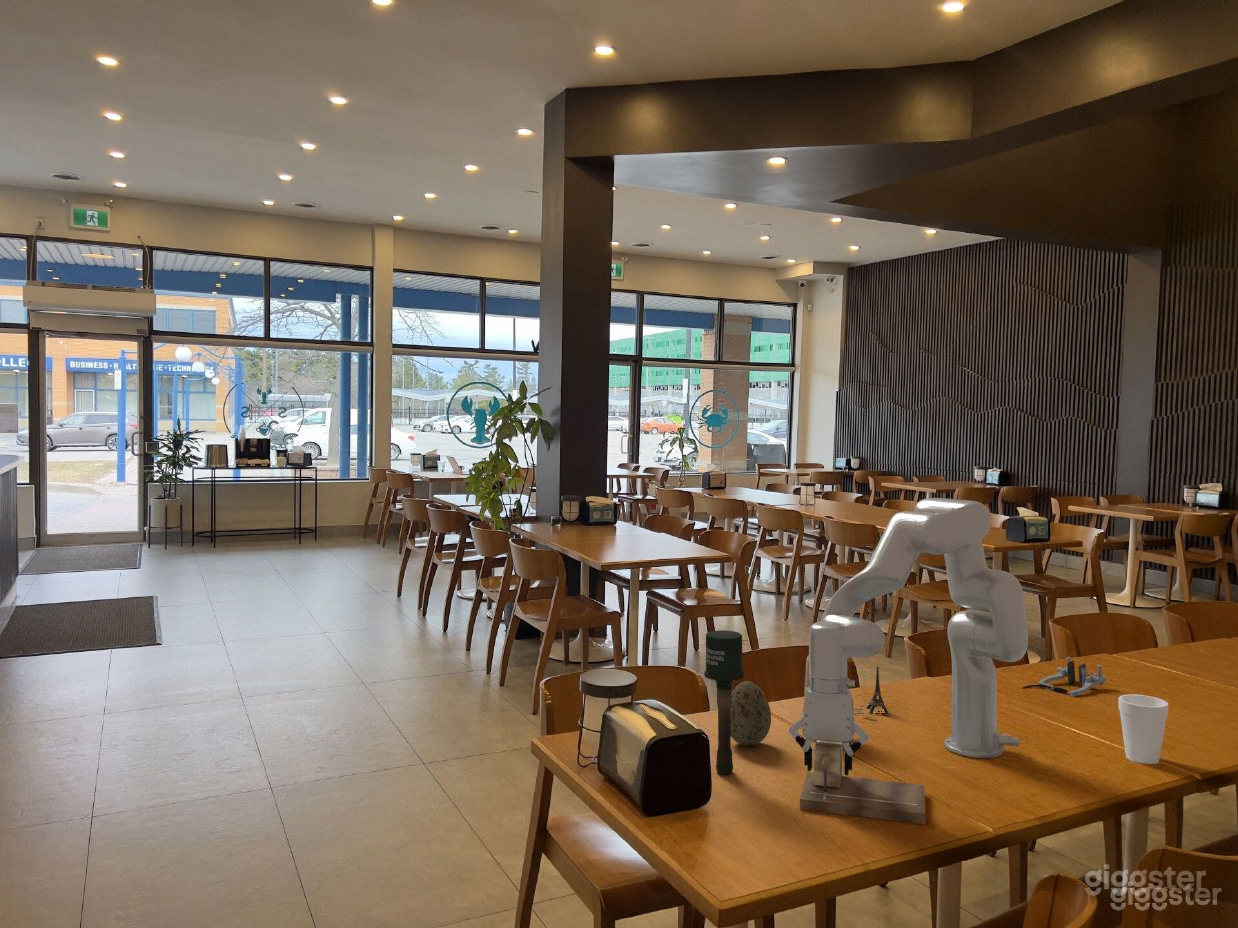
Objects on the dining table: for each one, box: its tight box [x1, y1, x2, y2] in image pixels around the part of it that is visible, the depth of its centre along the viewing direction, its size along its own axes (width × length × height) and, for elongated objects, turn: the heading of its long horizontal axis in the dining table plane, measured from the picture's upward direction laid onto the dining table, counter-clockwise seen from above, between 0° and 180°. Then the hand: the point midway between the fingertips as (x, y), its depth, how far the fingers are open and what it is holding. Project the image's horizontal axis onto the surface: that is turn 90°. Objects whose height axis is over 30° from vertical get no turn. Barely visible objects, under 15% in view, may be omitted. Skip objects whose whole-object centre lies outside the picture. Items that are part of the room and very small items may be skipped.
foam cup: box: [1118, 693, 1169, 765], centre depth 194 cm, size 10×9×13 cm
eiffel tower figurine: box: [854, 662, 890, 722], centre depth 229 cm, size 15×10×13 cm
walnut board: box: [799, 771, 927, 825], centre depth 173 cm, size 23×14×2 cm, turn 72°
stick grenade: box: [703, 629, 745, 776], centre depth 188 cm, size 8×9×30 cm
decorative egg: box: [731, 680, 772, 747], centre depth 205 cm, size 11×11×15 cm
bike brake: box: [1021, 656, 1107, 697], centre depth 246 cm, size 14×7×20 cm
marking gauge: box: [813, 740, 843, 792], centre depth 177 cm, size 5×13×9 cm, turn 162°
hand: (828, 769), depth 178 cm, fingers open, 6 cm apart
